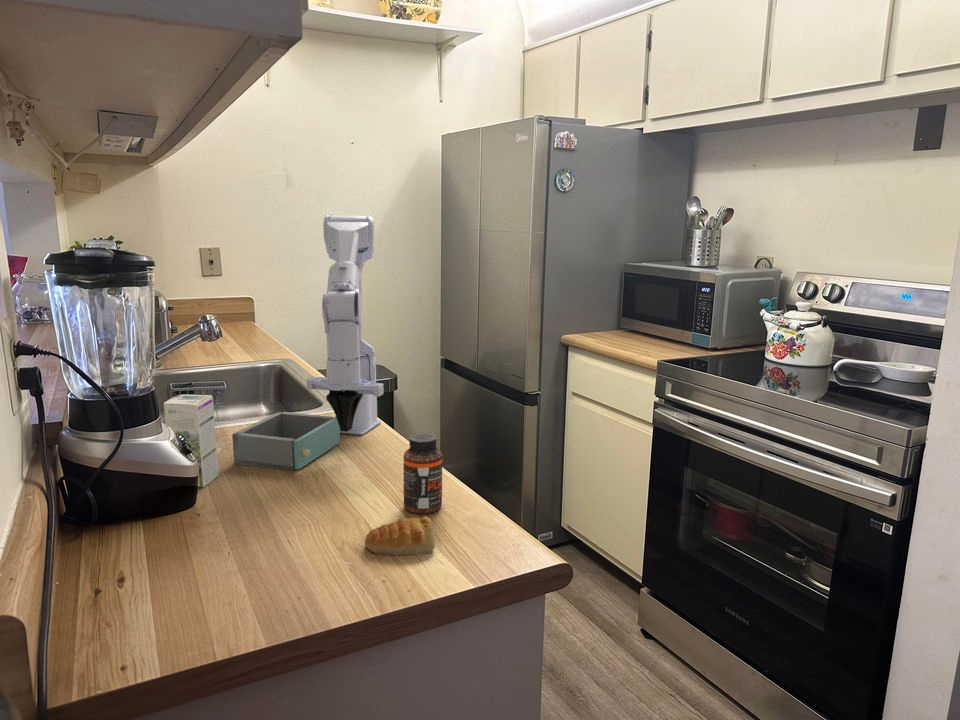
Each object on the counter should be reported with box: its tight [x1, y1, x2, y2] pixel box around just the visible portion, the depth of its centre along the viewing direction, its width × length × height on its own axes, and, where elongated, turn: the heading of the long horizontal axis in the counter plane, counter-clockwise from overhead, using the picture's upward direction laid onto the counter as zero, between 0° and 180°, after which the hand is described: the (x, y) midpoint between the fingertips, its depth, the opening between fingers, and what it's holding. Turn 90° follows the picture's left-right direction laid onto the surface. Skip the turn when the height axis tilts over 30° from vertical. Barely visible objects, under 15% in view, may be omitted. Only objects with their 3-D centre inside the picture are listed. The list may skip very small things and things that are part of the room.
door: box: [294, 416, 341, 470], centre depth 125 cm, size 15×2×5 cm, turn 164°
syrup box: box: [163, 393, 220, 488], centre depth 112 cm, size 6×6×14 cm
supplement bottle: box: [403, 433, 443, 515], centre depth 103 cm, size 6×6×11 cm
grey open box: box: [231, 411, 335, 472], centre depth 127 cm, size 15×12×6 cm
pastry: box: [364, 515, 436, 557], centre depth 92 cm, size 9×7×4 cm
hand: (346, 429), depth 125 cm, fingers closed
